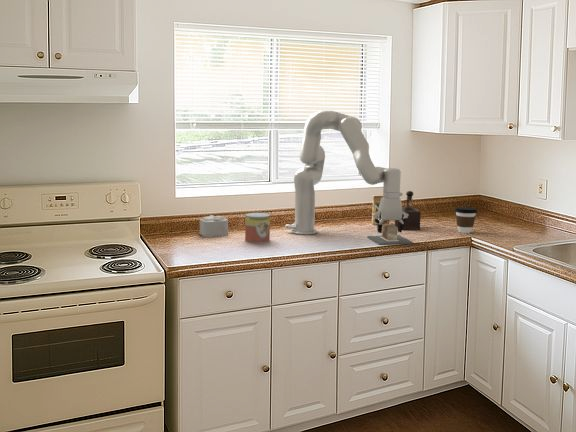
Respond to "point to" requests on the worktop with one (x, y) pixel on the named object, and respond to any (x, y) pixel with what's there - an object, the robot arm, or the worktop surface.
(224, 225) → the lumpy-topped squat cylinder
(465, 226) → the coffee cup
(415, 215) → the dark brown knob-topped block
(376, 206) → the candy box
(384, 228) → the beige textured block
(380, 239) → the mat
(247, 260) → the worktop surface
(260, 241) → the canned food
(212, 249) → the worktop surface
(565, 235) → the worktop surface
